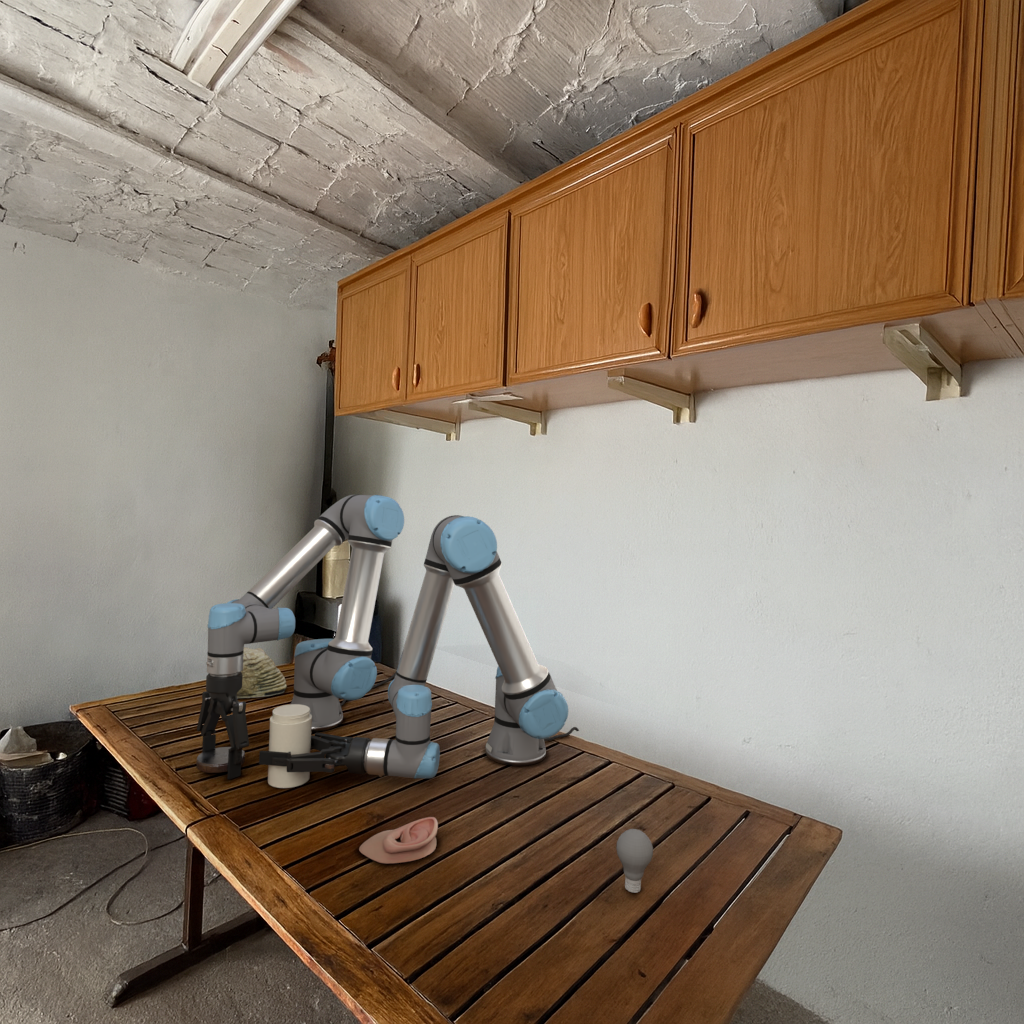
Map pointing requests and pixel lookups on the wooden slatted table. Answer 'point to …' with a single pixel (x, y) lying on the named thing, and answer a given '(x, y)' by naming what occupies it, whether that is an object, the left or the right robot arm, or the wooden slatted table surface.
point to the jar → (289, 742)
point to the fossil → (260, 675)
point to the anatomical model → (403, 842)
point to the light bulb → (634, 857)
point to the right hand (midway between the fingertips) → (270, 748)
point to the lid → (215, 760)
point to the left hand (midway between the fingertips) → (220, 770)
